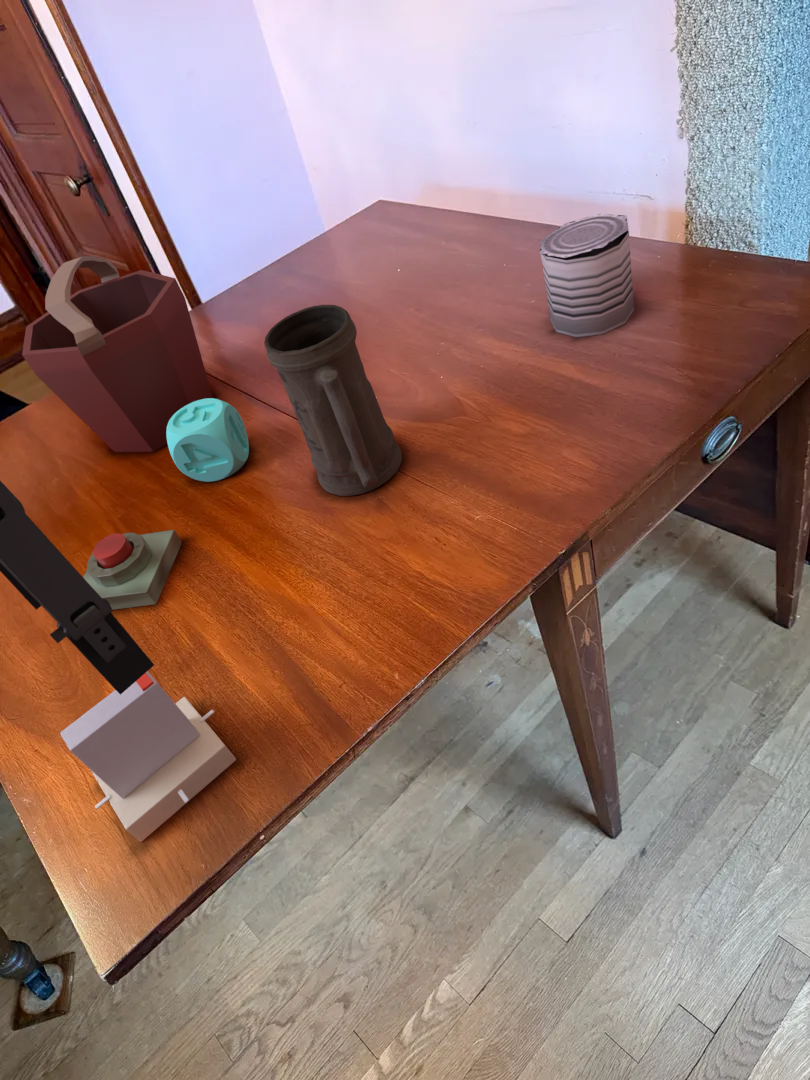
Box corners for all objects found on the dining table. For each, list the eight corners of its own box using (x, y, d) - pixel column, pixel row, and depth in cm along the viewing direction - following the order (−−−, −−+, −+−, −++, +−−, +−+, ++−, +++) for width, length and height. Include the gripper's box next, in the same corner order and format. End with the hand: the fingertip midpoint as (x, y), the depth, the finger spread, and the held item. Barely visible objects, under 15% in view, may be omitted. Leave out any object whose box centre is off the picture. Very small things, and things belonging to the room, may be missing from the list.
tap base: (139, 870, 61) (122, 856, 59) (86, 779, 69) (70, 764, 67) (258, 765, 65) (246, 749, 63) (196, 691, 73) (183, 675, 71)
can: (597, 345, 97) (588, 258, 90) (533, 327, 105) (519, 245, 97) (652, 303, 101) (648, 215, 93) (585, 288, 109) (576, 206, 101)
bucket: (197, 460, 103) (101, 295, 87) (62, 482, 109) (-52, 330, 92) (242, 365, 121) (169, 212, 104) (124, 388, 126) (37, 246, 110)
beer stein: (304, 465, 96) (244, 331, 81) (376, 426, 97) (330, 288, 83) (355, 533, 85) (297, 392, 71) (435, 488, 87) (393, 342, 73)
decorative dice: (245, 475, 98) (219, 426, 92) (189, 488, 99) (160, 440, 94) (252, 439, 104) (228, 391, 98) (199, 452, 105) (173, 405, 100)
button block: (156, 604, 84) (138, 580, 81) (80, 614, 86) (60, 591, 84) (182, 542, 91) (167, 518, 88) (111, 552, 93) (94, 529, 91)
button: (126, 566, 84) (118, 555, 83) (95, 570, 85) (87, 560, 84) (138, 541, 87) (130, 531, 86) (108, 546, 88) (100, 535, 87)
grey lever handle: (122, 799, 63) (68, 749, 57) (111, 781, 65) (57, 731, 59) (200, 734, 66) (155, 680, 60) (188, 719, 67) (143, 665, 62)
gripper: (18, 389, 32) (227, 675, 46) (-130, 306, 47) (60, 539, 62) (-151, 496, 29) (129, 767, 43) (-250, 370, 44) (-21, 599, 59)
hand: (89, 633), depth 52 cm, fingers open, 13 cm apart
